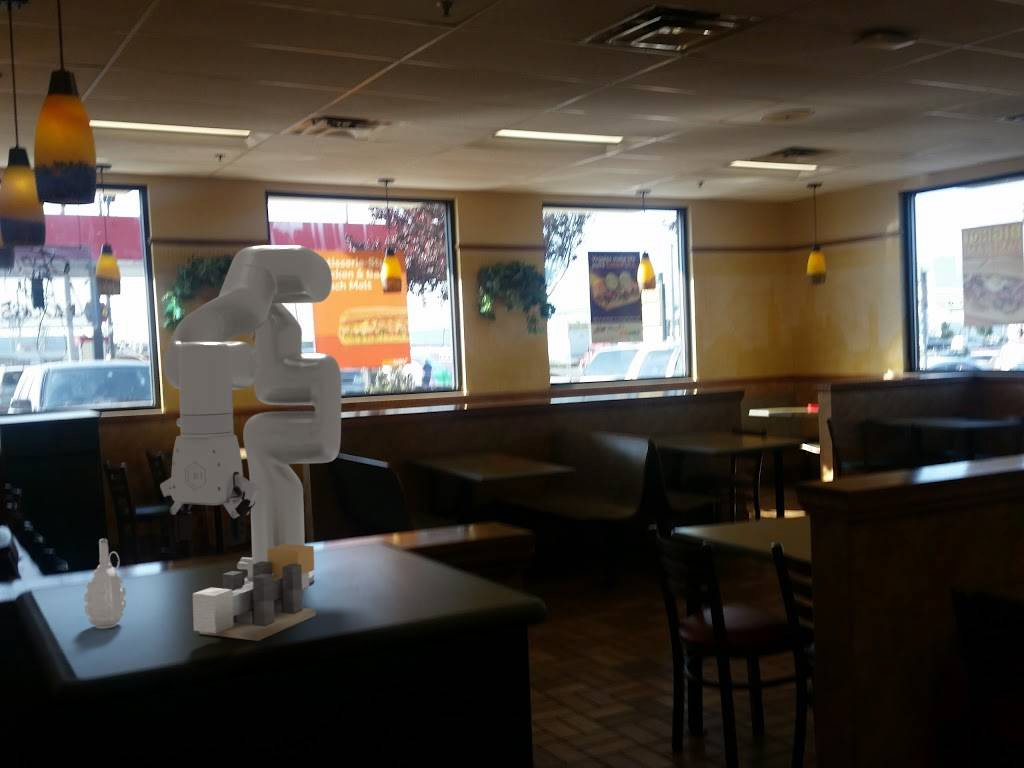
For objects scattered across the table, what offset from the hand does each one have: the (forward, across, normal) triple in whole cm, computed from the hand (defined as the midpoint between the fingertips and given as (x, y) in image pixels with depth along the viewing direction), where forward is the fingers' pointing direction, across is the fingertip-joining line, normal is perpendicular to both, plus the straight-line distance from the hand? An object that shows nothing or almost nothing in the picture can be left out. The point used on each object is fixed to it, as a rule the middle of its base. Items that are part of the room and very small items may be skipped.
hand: (210, 541), depth 153 cm
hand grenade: (+15, -22, +2) cm, 27 cm away
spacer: (+8, 0, +20) cm, 22 cm away
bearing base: (+15, 0, +12) cm, 19 cm away
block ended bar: (+13, 0, +11) cm, 17 cm away
